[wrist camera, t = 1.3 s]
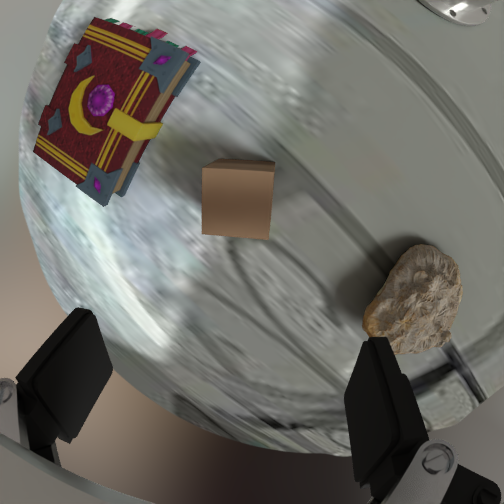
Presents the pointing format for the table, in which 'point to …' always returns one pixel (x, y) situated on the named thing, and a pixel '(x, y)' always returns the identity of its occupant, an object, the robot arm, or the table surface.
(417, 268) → the fossil
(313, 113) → the table surface
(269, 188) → the walnut block
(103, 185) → the decorative book
